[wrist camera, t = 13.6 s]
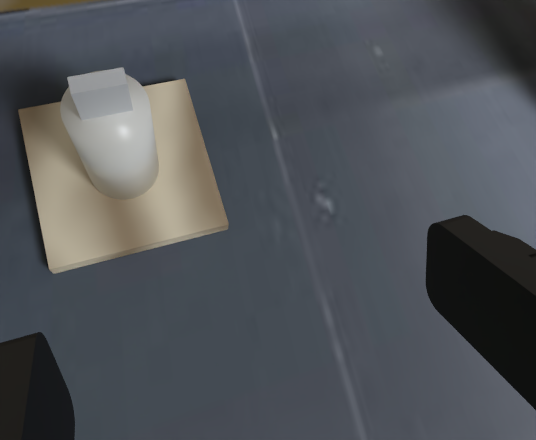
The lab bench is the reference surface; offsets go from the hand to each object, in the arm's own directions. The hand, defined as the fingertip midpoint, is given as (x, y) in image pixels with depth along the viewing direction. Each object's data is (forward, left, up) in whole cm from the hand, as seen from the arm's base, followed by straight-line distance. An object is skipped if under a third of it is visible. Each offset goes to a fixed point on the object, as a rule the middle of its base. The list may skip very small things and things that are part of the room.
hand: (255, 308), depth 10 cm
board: (+2, -15, -25) cm, 29 cm away
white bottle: (+2, -15, -23) cm, 28 cm away
